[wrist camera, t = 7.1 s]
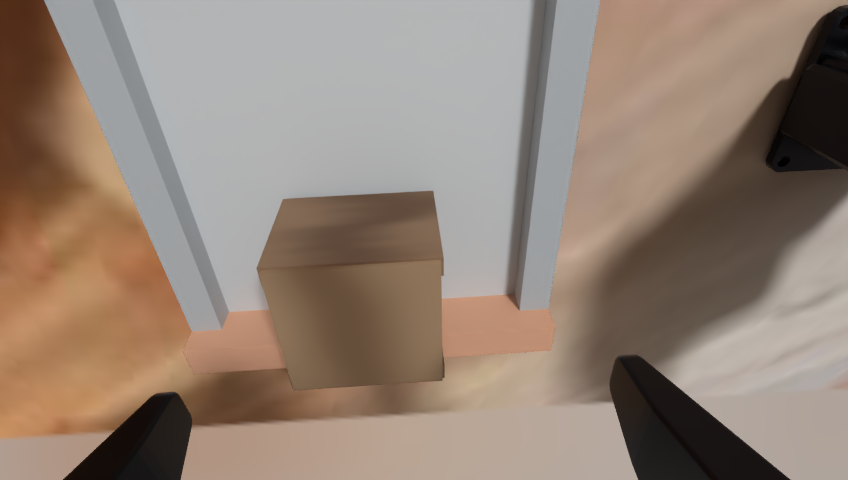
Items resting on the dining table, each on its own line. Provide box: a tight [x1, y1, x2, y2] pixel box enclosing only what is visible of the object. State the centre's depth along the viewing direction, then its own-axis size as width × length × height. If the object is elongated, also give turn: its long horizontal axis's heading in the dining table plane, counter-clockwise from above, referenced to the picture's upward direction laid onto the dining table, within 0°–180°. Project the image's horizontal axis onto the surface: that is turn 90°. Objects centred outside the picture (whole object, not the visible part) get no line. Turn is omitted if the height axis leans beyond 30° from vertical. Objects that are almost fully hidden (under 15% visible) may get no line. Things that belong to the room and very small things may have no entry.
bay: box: [44, 0, 600, 374], centre depth 18 cm, size 17×18×3 cm
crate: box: [256, 191, 444, 390], centre depth 19 cm, size 6×6×5 cm
